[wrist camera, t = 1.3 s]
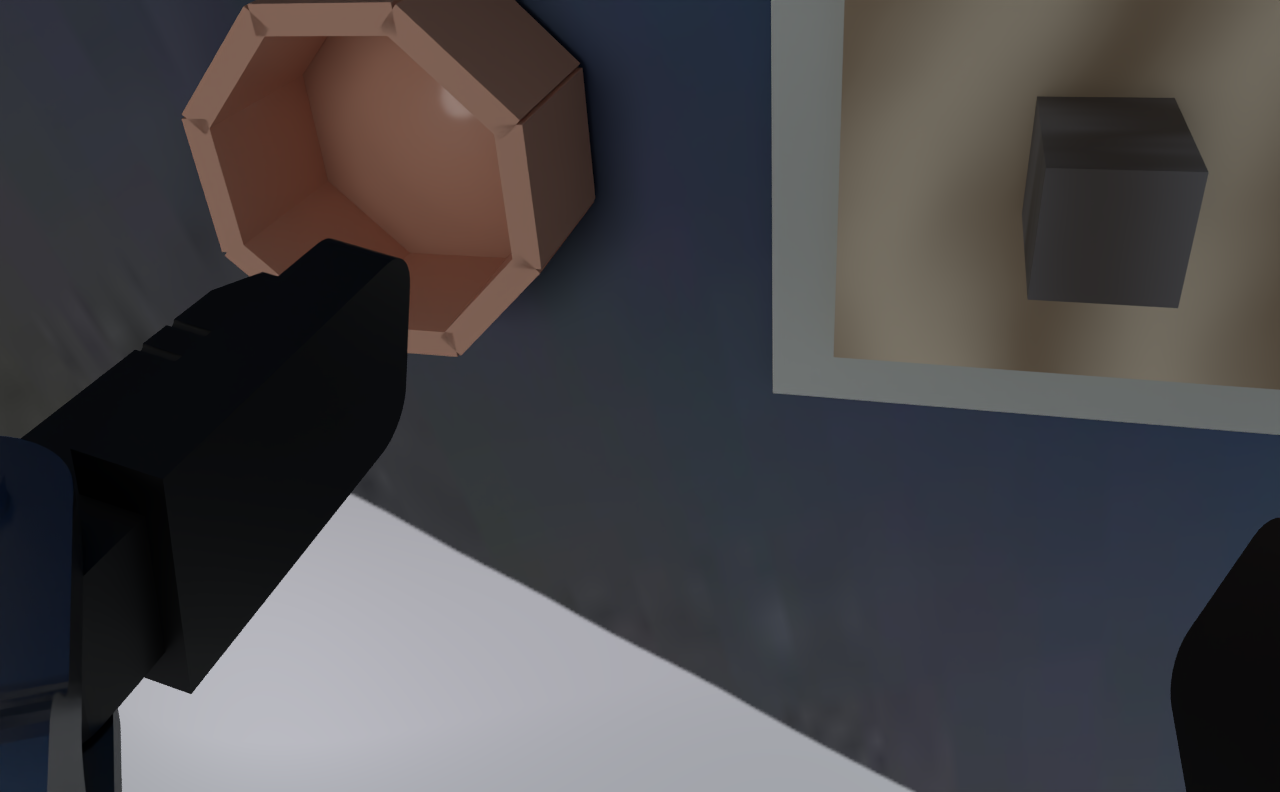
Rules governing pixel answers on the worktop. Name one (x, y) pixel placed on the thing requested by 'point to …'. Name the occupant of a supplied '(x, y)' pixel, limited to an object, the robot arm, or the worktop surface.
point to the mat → (808, 277)
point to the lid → (1062, 187)
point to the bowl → (397, 147)
